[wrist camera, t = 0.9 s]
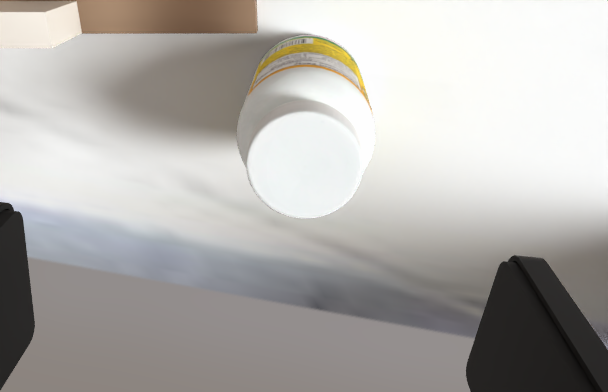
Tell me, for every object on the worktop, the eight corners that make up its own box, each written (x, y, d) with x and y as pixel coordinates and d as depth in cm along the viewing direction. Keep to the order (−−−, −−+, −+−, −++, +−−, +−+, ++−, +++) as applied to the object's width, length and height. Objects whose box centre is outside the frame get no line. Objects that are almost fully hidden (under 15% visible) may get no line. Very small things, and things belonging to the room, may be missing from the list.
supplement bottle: (281, 12, 28) (265, 59, 19) (383, 63, 29) (415, 131, 20) (236, 113, 30) (202, 199, 21) (331, 157, 31) (339, 257, 22)
